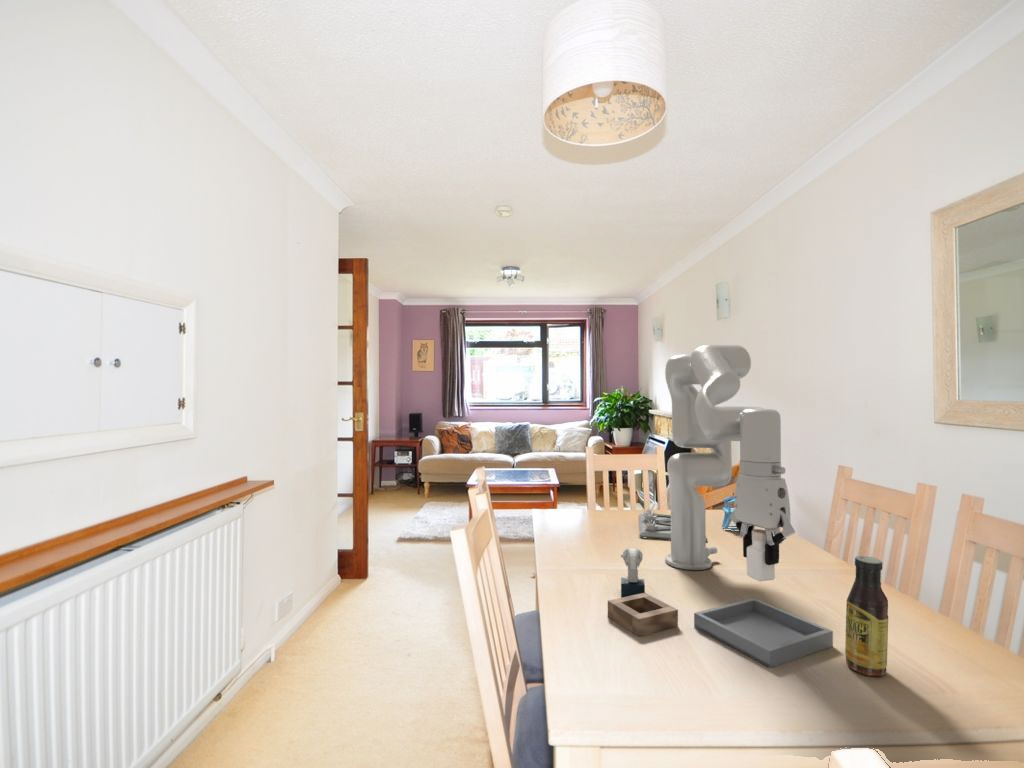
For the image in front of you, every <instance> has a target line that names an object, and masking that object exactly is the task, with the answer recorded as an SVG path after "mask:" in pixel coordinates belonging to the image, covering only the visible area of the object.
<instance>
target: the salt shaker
mask: <svg viewBox="0 0 1024 768" xmlns="http://www.w3.org/2000/svg"><path fill="white" fill-rule="evenodd" d="M765 544H768V541H767V536H766V531H765V529H761V528H760V529H757V528H755V529H754V530H752V545H750V546H748V547H747V558H746V575H747V577H750V578H752V579H753V580H755V581H758V582H767V581H774V580H775V578H776V573H775V572H776V564H773V565H767V564H766V563H765Z"/></svg>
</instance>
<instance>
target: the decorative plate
mask: <svg viewBox="0 0 1024 768" xmlns="http://www.w3.org/2000/svg"><path fill="white" fill-rule="evenodd" d="M638 530H639V536H640V537H641V538H642V537H647V538H646V539H648V538H659V539H658V540H665V539H671V514H662V513H661V514H660V513H656V512H654V510H653V509H652V508H644V512H641V513H640V514H638ZM707 540H708V537H706V541H707Z"/></svg>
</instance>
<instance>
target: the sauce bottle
mask: <svg viewBox="0 0 1024 768" xmlns="http://www.w3.org/2000/svg"><path fill="white" fill-rule="evenodd" d="M854 566H855V577H854V582H853V584H852V587H851V589H850V592H849V593H848V596H847V598H846V610H845V615H846V616H845V640H844V641H845V643H844V645H845V648H844V653H845V661H846V664H847V666H848V668H850V670H853V671H855V672H857V673H859V674H861V675H862V676H870V677H883V676H884V675H885V674H886V673H887V667H888V643H889V642H888V641H889V636H888V635H889V615H888V614H889V613H888V612H889V610H888V609H889V600H888V597H887V596H886V594H885V593H884V590H883V589H882V581H881V579H882V572H881V571H882V570H883V561H882V560H881V559H878V558H877V557H873V556H868V555H856V556H855V557H854Z"/></svg>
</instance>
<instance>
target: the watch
mask: <svg viewBox="0 0 1024 768" xmlns="http://www.w3.org/2000/svg"><path fill="white" fill-rule="evenodd" d="M643 556H644V554H643V552H642V551H641V550H640V549H639V548H636V547H627V548H625V549H624V550H623V551H622V553H621V555H620V558H622V559H623V561H624V563H625V566H626V567H627V577H620V580H621V581H620V598H622V597H627V596H631V595H636V594H641V593H646V592H645V590H646V588H645V587H646V586H645V579H644V578H639V570H638V568H639V567H640V565H641V563H642V561H643Z"/></svg>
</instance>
